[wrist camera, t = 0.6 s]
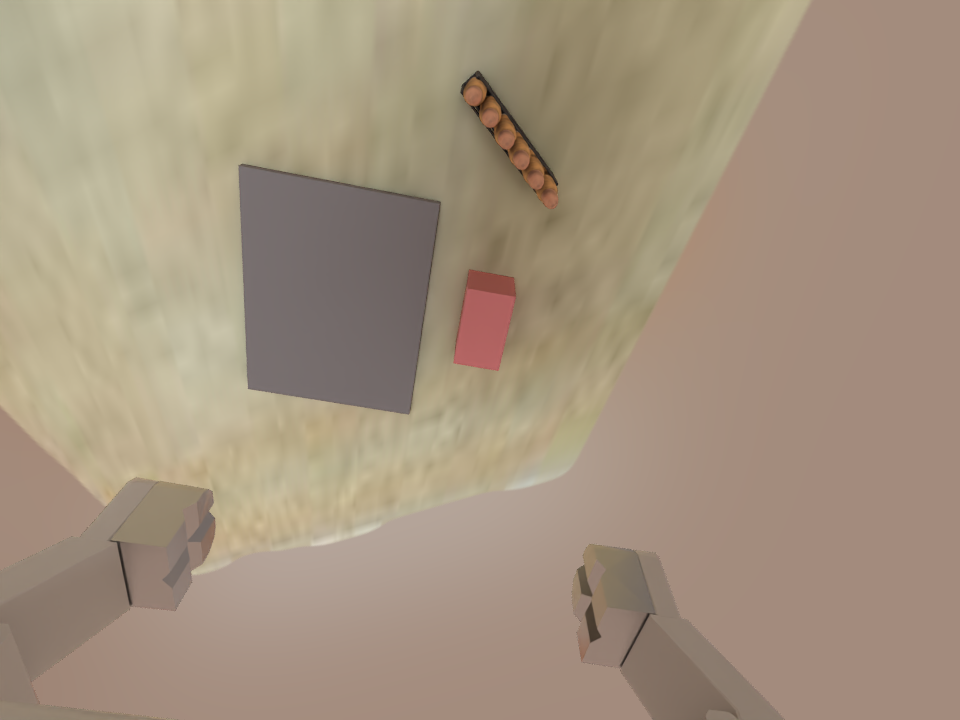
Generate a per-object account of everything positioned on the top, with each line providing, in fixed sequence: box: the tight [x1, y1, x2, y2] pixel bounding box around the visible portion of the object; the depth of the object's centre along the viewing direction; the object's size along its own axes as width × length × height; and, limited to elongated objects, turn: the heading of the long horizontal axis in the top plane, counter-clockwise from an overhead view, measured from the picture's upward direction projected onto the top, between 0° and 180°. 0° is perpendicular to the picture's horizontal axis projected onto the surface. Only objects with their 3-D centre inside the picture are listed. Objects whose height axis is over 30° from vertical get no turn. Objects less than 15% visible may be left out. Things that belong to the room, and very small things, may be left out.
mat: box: [239, 164, 440, 414], centre depth 54 cm, size 24×18×1 cm
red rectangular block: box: [454, 270, 516, 371], centre depth 52 cm, size 8×4×5 cm, turn 170°
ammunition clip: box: [461, 71, 558, 209], centre depth 41 cm, size 11×2×12 cm, turn 39°
